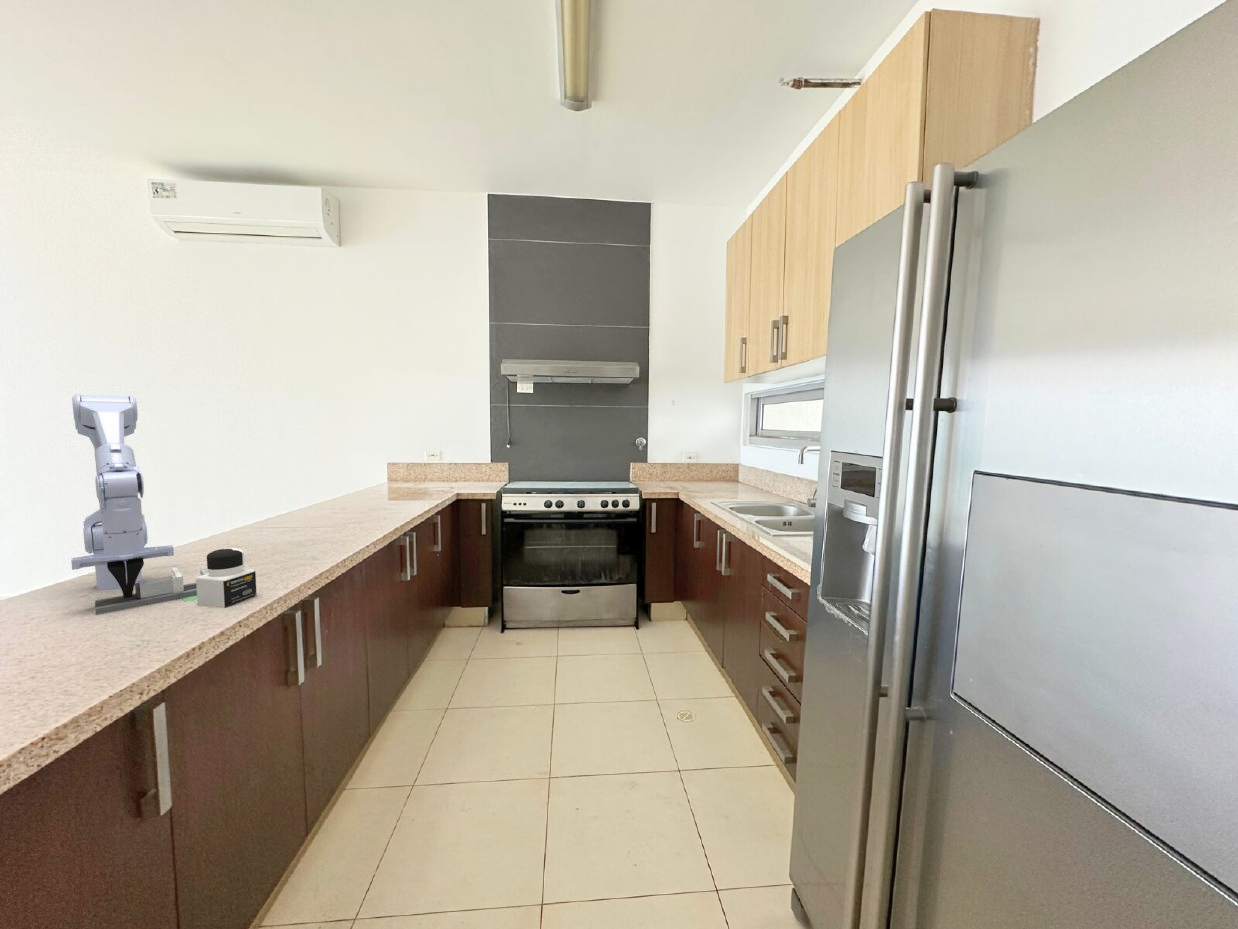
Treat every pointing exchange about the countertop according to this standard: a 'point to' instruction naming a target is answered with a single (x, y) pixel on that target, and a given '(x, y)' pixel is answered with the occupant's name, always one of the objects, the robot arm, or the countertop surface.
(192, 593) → the gauge board
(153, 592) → the grey rail carriage
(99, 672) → the countertop surface
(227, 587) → the medicine bottle
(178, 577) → the off-white rectangular block
